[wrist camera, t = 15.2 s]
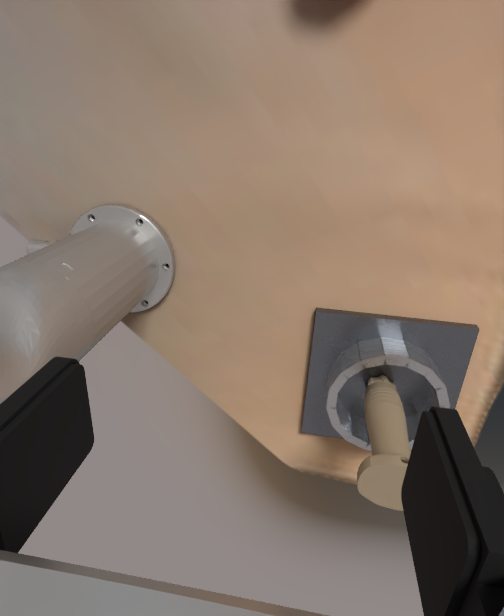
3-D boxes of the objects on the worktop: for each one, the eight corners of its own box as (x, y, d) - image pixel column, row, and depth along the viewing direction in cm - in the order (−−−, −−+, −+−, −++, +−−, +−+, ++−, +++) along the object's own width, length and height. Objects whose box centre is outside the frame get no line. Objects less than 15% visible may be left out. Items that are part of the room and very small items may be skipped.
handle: (400, 408, 49) (425, 517, 36) (346, 395, 50) (351, 497, 36) (414, 374, 47) (446, 477, 34) (357, 361, 48) (366, 457, 34)
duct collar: (301, 427, 54) (299, 455, 49) (316, 307, 47) (315, 327, 42) (439, 447, 52) (450, 478, 47) (476, 324, 45) (493, 347, 40)
